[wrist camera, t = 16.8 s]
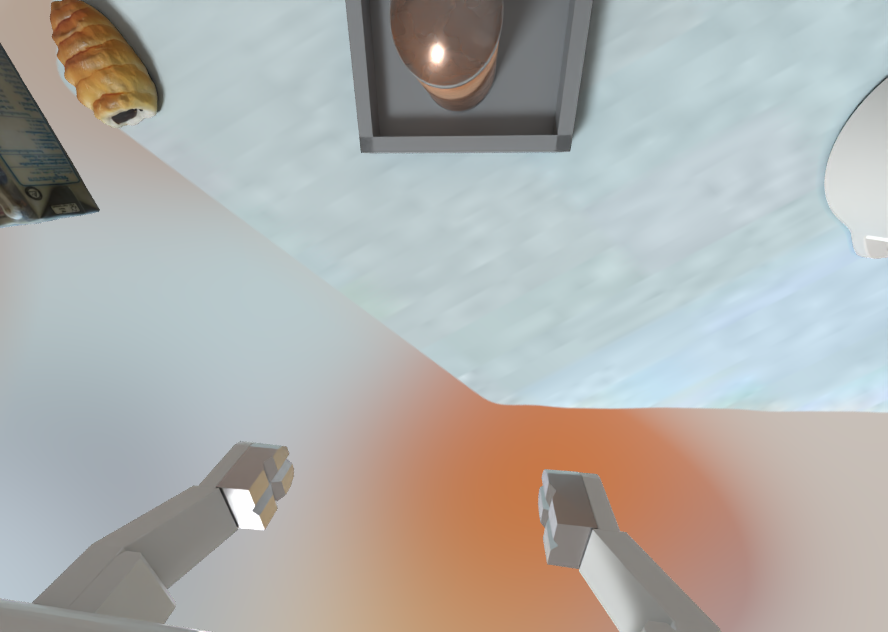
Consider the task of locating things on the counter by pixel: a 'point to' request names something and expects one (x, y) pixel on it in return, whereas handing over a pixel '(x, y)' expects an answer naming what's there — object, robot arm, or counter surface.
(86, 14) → the pastry
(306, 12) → the counter surface
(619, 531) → the robot arm
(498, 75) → the tray
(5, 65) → the beverage carton
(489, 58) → the tin can
